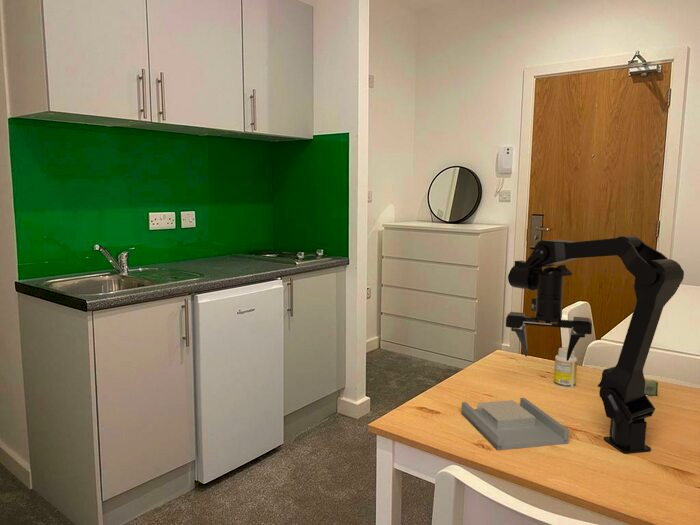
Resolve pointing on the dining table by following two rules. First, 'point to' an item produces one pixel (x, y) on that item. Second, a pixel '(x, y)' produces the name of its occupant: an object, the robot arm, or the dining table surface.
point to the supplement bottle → (565, 369)
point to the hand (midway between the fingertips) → (546, 358)
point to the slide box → (519, 429)
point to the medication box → (651, 388)
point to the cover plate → (506, 414)
